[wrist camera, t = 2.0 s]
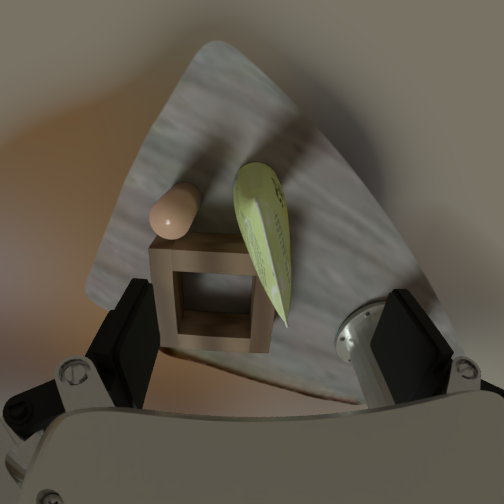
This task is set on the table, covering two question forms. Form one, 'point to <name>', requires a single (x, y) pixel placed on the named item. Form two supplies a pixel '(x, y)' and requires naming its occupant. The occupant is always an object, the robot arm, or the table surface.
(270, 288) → the tube
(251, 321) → the square wooden frame
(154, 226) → the short stub
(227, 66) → the table surface
